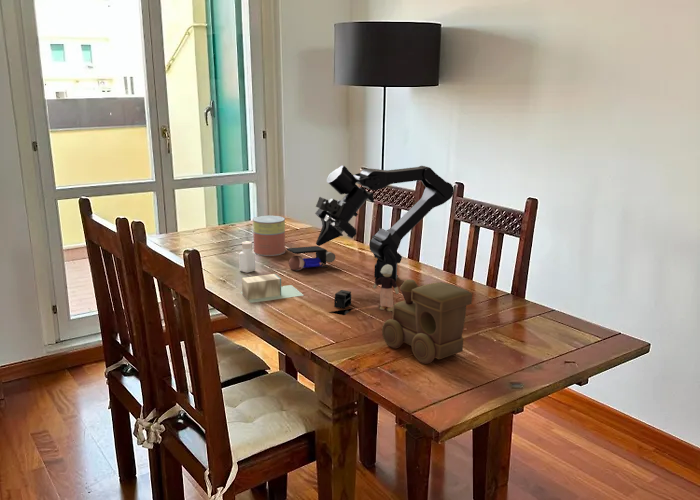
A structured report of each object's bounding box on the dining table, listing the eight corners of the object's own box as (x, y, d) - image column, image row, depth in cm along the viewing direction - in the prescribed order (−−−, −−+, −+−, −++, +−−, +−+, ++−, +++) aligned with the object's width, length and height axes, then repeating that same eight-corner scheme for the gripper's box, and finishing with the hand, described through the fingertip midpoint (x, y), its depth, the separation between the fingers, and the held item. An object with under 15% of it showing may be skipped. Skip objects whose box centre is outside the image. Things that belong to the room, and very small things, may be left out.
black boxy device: (344, 319, 174) (344, 302, 172) (318, 314, 177) (318, 297, 176) (364, 304, 185) (365, 288, 184) (340, 299, 188) (340, 283, 187)
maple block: (275, 273, 191) (241, 277, 186) (281, 278, 186) (247, 283, 182) (275, 290, 192) (242, 294, 188) (281, 295, 188) (247, 299, 183)
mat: (291, 286, 197) (291, 285, 197) (304, 296, 188) (304, 295, 188) (239, 293, 190) (239, 291, 190) (250, 304, 181) (250, 302, 181)
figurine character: (324, 266, 223) (284, 268, 214) (326, 244, 221) (286, 245, 213) (334, 272, 217) (293, 273, 209) (336, 249, 215) (296, 250, 207)
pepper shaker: (247, 273, 209) (246, 244, 206) (238, 271, 211) (237, 242, 208) (256, 270, 212) (255, 242, 209) (247, 268, 214) (246, 240, 211)
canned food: (291, 250, 236) (291, 218, 233) (271, 257, 227) (271, 224, 223) (267, 245, 242) (266, 214, 238) (246, 252, 232) (246, 219, 229)
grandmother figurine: (400, 308, 181) (402, 264, 178) (397, 312, 178) (399, 268, 174) (374, 304, 183) (375, 261, 180) (370, 308, 180) (371, 264, 177)
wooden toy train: (470, 359, 150) (475, 291, 145) (435, 372, 143) (439, 301, 138) (411, 332, 165) (414, 269, 160) (376, 342, 158) (378, 277, 154)
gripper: (320, 182, 198) (287, 221, 197) (345, 192, 182) (309, 235, 180) (344, 204, 203) (312, 243, 202) (371, 216, 187) (336, 259, 186)
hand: (317, 244), depth 192 cm, fingers closed
